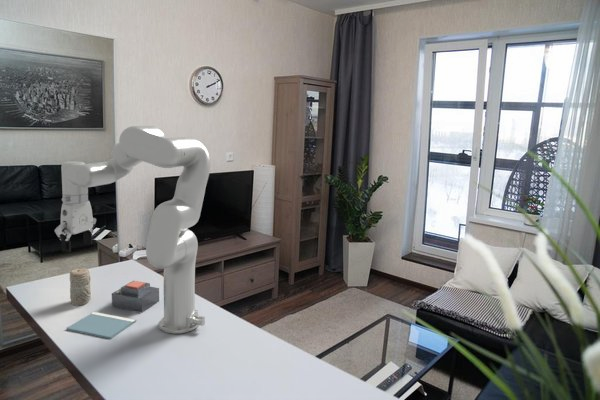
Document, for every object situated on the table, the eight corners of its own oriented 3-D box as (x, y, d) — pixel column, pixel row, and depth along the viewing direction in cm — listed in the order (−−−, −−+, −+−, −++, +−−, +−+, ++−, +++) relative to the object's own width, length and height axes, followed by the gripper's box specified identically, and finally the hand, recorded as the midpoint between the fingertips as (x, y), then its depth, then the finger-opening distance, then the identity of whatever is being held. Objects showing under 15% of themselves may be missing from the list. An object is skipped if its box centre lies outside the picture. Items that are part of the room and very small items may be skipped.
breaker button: (145, 288, 153) (145, 282, 152) (137, 292, 148) (137, 287, 148) (134, 286, 154) (134, 280, 153) (125, 290, 149) (125, 285, 149)
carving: (67, 307, 147) (65, 274, 144) (74, 298, 154) (72, 266, 152) (87, 307, 148) (86, 274, 146) (93, 298, 155) (92, 266, 153)
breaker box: (159, 301, 155) (159, 282, 154) (142, 312, 146) (141, 293, 144) (130, 296, 158) (130, 278, 157) (112, 307, 149) (111, 288, 147)
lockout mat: (136, 321, 140) (136, 319, 139) (110, 339, 128) (110, 336, 128) (94, 313, 144) (94, 311, 143) (66, 329, 132) (66, 327, 132)
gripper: (64, 204, 135) (66, 256, 138) (103, 195, 151) (104, 242, 154) (45, 201, 137) (47, 253, 140) (85, 193, 153) (87, 239, 156)
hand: (77, 247), depth 147 cm, fingers open, 9 cm apart
